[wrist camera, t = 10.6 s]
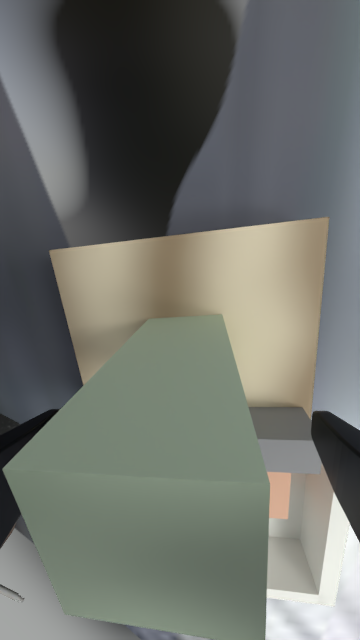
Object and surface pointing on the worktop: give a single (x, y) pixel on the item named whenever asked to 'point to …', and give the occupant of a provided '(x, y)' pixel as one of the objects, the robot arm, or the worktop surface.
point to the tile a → (279, 494)
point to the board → (207, 298)
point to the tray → (307, 543)
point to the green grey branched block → (161, 486)
